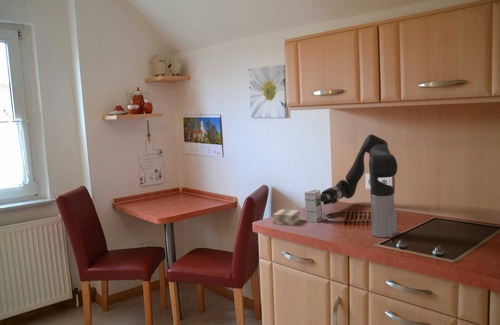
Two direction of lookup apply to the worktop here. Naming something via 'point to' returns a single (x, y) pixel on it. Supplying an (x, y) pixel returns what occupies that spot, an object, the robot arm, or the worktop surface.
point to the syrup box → (313, 205)
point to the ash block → (286, 217)
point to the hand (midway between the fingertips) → (316, 202)
